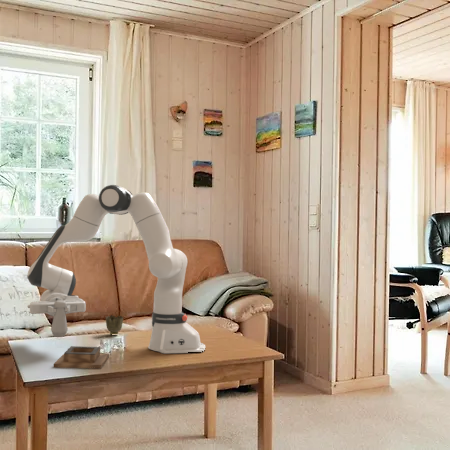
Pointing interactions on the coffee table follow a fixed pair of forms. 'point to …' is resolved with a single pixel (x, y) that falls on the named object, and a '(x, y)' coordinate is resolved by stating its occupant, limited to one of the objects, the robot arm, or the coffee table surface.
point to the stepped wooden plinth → (82, 358)
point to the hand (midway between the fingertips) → (60, 310)
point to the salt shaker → (59, 320)
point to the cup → (114, 324)
